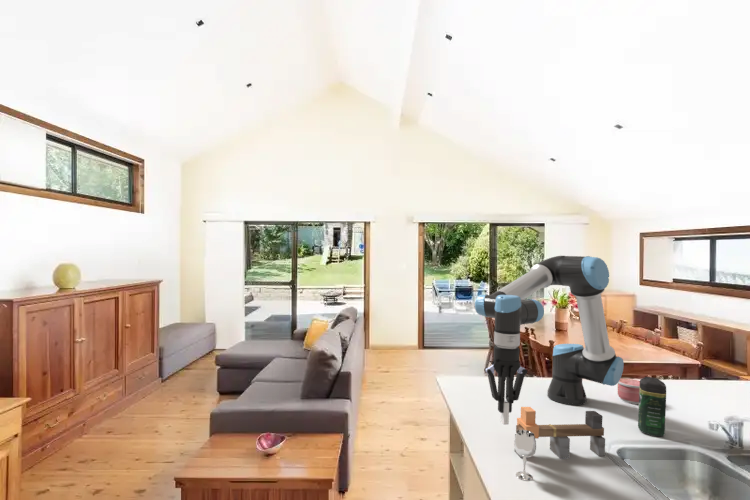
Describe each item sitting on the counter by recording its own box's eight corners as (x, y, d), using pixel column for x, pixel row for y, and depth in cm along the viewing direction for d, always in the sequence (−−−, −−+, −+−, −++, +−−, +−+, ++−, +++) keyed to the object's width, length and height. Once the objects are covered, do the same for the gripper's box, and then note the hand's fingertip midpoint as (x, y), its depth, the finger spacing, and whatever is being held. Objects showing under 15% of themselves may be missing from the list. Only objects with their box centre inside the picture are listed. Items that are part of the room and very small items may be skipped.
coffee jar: (666, 439, 142) (668, 384, 142) (639, 434, 146) (640, 380, 146) (662, 428, 151) (664, 377, 151) (636, 423, 155) (638, 373, 155)
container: (629, 395, 185) (629, 377, 185) (651, 404, 176) (651, 385, 175) (610, 397, 182) (611, 379, 182) (632, 406, 172) (633, 387, 172)
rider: (516, 429, 133) (517, 405, 132) (528, 429, 133) (529, 405, 133) (526, 438, 126) (526, 413, 126) (538, 438, 127) (539, 413, 126)
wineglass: (509, 470, 120) (511, 428, 120) (529, 470, 120) (530, 428, 120) (518, 482, 114) (519, 438, 114) (538, 481, 114) (540, 437, 114)
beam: (513, 449, 132) (514, 410, 132) (594, 448, 135) (595, 409, 135) (521, 459, 126) (523, 418, 126) (606, 457, 129) (607, 417, 129)
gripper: (490, 348, 124) (488, 428, 124) (532, 348, 125) (530, 427, 126) (481, 342, 132) (479, 417, 132) (521, 343, 133) (519, 417, 133)
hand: (504, 422), depth 129 cm, fingers closed
